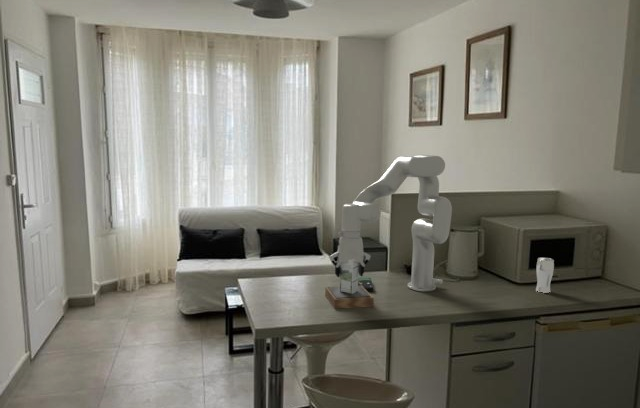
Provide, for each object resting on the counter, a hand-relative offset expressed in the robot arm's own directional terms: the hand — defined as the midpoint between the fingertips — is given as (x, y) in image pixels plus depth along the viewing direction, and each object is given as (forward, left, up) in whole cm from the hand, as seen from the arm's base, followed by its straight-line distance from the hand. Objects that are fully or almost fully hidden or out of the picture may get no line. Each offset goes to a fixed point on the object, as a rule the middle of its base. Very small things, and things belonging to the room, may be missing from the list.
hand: (349, 275), depth 192 cm
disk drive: (-11, -18, -11) cm, 24 cm away
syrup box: (0, 0, -7) cm, 7 cm away
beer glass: (-91, 0, -11) cm, 92 cm away
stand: (0, 0, -11) cm, 11 cm away
